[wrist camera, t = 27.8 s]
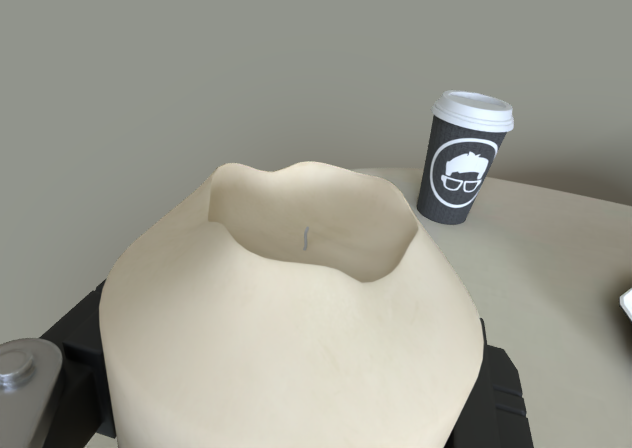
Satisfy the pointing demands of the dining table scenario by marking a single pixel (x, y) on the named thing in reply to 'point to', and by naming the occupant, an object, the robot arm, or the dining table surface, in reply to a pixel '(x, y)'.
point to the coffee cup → (461, 152)
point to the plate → (626, 304)
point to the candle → (288, 319)
